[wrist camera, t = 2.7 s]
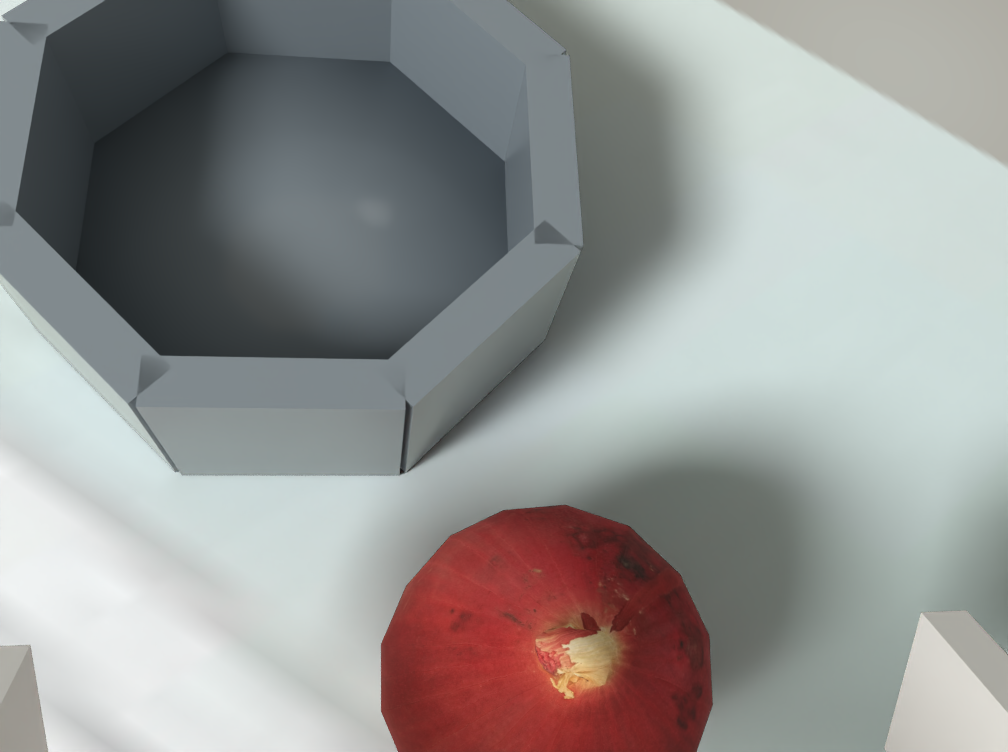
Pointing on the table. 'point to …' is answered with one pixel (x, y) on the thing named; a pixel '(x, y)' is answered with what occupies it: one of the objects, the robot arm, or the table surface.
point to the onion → (546, 643)
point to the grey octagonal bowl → (287, 216)
